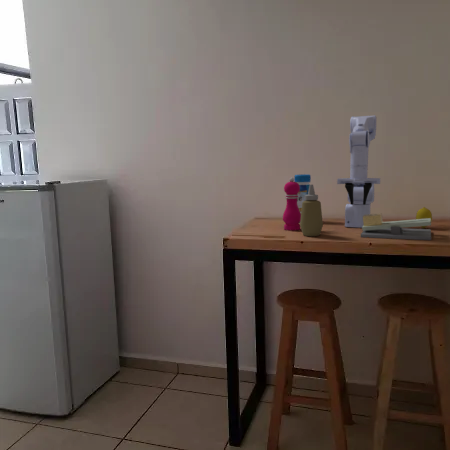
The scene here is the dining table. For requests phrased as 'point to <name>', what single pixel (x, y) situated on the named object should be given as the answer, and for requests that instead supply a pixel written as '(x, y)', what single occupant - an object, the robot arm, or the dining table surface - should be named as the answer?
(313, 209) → the squeeze bottle
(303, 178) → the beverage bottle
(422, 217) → the lemon
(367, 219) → the tan block
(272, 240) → the dining table surface
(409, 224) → the beam
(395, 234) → the pivot stand
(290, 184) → the pepper mill
